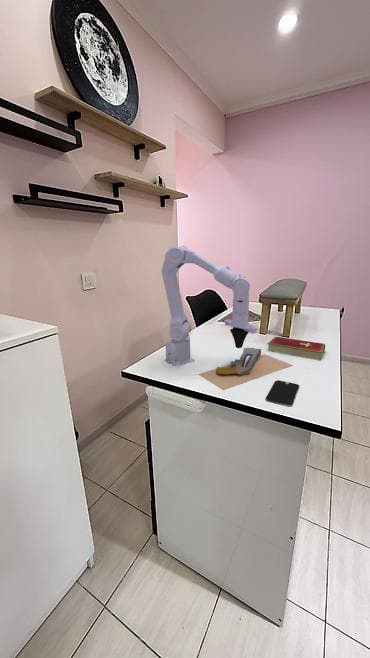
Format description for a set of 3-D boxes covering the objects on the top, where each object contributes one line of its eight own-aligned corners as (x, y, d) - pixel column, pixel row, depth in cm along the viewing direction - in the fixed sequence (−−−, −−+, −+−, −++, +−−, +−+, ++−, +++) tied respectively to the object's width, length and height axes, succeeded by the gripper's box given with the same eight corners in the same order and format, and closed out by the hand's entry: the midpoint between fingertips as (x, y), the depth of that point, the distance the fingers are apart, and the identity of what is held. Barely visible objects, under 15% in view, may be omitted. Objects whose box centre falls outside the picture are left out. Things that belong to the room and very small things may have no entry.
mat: (223, 391, 87) (223, 389, 87) (198, 375, 99) (198, 374, 99) (292, 366, 105) (293, 365, 105) (264, 355, 116) (264, 354, 116)
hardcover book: (275, 344, 130) (275, 335, 129) (324, 352, 118) (325, 343, 117) (266, 351, 120) (267, 342, 119) (319, 361, 109) (320, 351, 108)
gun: (225, 351, 120) (261, 354, 116) (214, 377, 97) (258, 382, 93) (225, 344, 119) (261, 347, 115) (214, 369, 96) (259, 373, 92)
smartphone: (300, 384, 89) (292, 406, 77) (299, 386, 90) (291, 408, 77) (275, 379, 93) (264, 399, 81) (275, 381, 93) (264, 401, 81)
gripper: (263, 314, 96) (261, 350, 100) (235, 307, 108) (233, 340, 111) (248, 316, 92) (246, 354, 96) (220, 309, 104) (220, 343, 108)
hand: (238, 347), depth 103 cm, fingers closed
